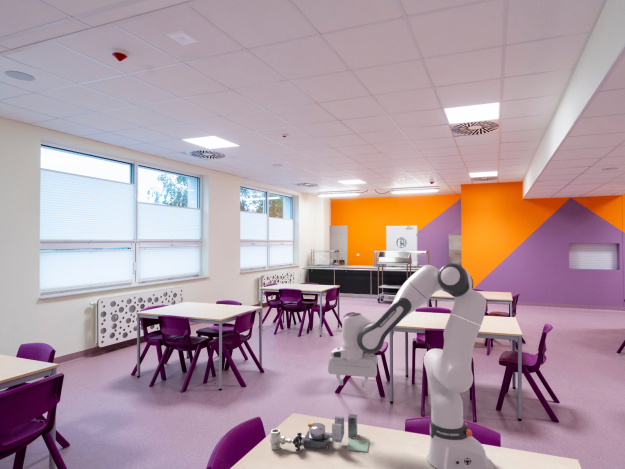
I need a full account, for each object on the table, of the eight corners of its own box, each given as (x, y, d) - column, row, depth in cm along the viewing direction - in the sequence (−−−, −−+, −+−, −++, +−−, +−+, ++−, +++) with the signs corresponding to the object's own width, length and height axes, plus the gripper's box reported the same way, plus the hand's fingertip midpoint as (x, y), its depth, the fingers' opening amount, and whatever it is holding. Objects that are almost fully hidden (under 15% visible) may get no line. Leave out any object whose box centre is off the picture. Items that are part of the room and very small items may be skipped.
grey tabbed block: (357, 432, 165) (357, 413, 165) (356, 439, 159) (355, 419, 159) (349, 431, 166) (349, 412, 166) (347, 438, 160) (347, 419, 160)
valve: (267, 451, 150) (297, 455, 148) (267, 434, 151) (297, 437, 148) (273, 443, 157) (302, 446, 154) (273, 426, 157) (302, 429, 154)
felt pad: (369, 442, 157) (369, 441, 157) (367, 452, 149) (367, 451, 149) (349, 440, 159) (349, 439, 159) (346, 450, 151) (346, 449, 151)
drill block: (330, 440, 159) (330, 432, 159) (326, 450, 151) (326, 442, 151) (302, 437, 161) (302, 430, 161) (297, 447, 153) (297, 439, 153)
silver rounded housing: (344, 433, 157) (344, 417, 157) (341, 443, 150) (341, 425, 150) (310, 430, 160) (310, 413, 160) (306, 439, 153) (305, 422, 153)
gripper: (378, 352, 164) (378, 385, 164) (330, 348, 169) (329, 381, 168) (377, 356, 158) (377, 390, 158) (327, 352, 162) (327, 386, 162)
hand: (352, 385), depth 163 cm, fingers open, 8 cm apart
